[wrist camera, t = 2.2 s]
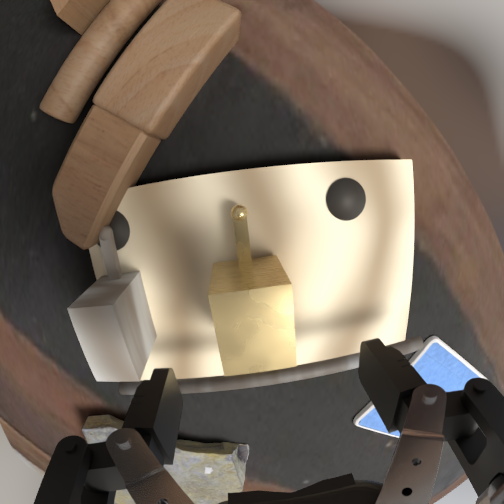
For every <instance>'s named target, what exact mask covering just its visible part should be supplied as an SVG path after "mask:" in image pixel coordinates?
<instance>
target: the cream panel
mask: <svg viewBox="0 0 504 504" xmlns="http://www.w3.org/2000/svg"><path fill="white" fill-rule="evenodd" d="M235 205H243V206H245V207H246V209H247V211H248V215H247V224H248V232H249V240H250V249H251V257H252V258H255V257H263V256H271V255H277V257H278V259H279V261H280V263H281V264H282V266H283V268H284V270H285V272H286V274H287V276H288V278H289V279H290V281H291V283H292V293H293V308H294V324H295V341H296V361H297V366H296V367H290V368H284V369H278V370H271V371H264V372H257V373H249V374H241V375H233V376H224V372H223V367H222V363H221V358H220V353H219V348H218V343H217V339H216V334H215V329H214V324H213V319H212V313H211V308H210V303H209V297H208V292H209V286H210V280H211V273H212V267H213V263H217V262H225V261H233V260H238V254H237V246H236V239H235V231H234V223H233V218H232V217H231V209H232V208H233V207H234V206H235ZM99 240H100V242H99V243H97V244H96V245H94V246H93V247H91V248H89V252H90V256H91V260H92V264H93V268H94V272H95V276H96V279H97V281H96V282H94V283H93V284H92V285H91V286H90V287H89V288H88V289H87V290H86V291H85V292H84V293H83V294H82V295H81V296H80V297H79V298H78V299H77V300H75V301H74V302H73V303H72V304H71V305H70V306H69V307H68V308H67V309H68V312H69V315H70V318H71V321H72V324H73V326H74V329H75V332H76V334H77V337H78V339H79V342H80V344H81V347H82V349H83V352H84V354H85V357H86V359H87V361H88V363H89V366H90V368H91V370H92V372H93V375H94V377H95V379H96V381H111V382H119V391H120V393H121V394H122V395H134V394H135V391H136V389H137V387H138V386H139V385H140V384H141V383H142V382H143V381H144V380H150V378H151V375H152V373H153V370H154V369H155V368H172V369H173V371H174V374H175V377H176V380H177V383H178V386H179V389H180V391H181V394H184V393H200V392H213V391H224V390H234V389H242V388H251V387H258V386H266V385H272V384H279V383H285V382H291V381H297V380H302V379H308V378H313V377H318V376H323V375H328V374H332V373H337V372H341V371H346V370H350V369H354V368H358V367H359V357H360V345H361V342H362V341H367V340H371V339H375V338H379V339H380V340H381V341H382V342H383V344H384V345H385V346H386V347H389V346H392V347H393V348H395V349H397V350H399V351H400V352H401V353H402V354H403V355H405V354H408V353H411V352H414V351H417V350H421V349H422V348H423V340H422V338H421V337H420V336H417V337H414V338H411V339H408V340H405V336H406V329H407V322H408V314H409V306H410V296H411V285H412V272H413V255H414V183H413V165H412V160H357V161H336V162H319V163H305V164H293V165H281V166H271V167H261V168H252V169H244V170H235V171H227V172H220V173H213V174H206V175H199V176H192V177H186V178H180V179H174V180H168V181H162V182H156V183H151V184H146V185H140V186H135V187H130V188H128V189H127V191H126V193H125V195H124V197H123V199H122V201H121V203H120V205H119V207H118V209H117V211H116V212H115V214H114V216H113V218H112V220H111V222H110V225H109V226H107V225H106V226H104V227H103V229H102V230H101V232H100V234H99Z"/></svg>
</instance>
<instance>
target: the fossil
mask: <svg viewBox="0 0 504 504" xmlns="http://www.w3.org/2000/svg"><path fill="white" fill-rule="evenodd" d="M123 423H124V421H123V420H120V419H117V418H115V417H113V416H111V415H98V416H88V418H87V420H86V421H85V424H84V426H83V427H82V431H83V434H84V436H85V438H86V441H87V443H88V444H92V443H99V442H105V441H106V440H107V438H108V436H109V435H110V434H111V433H112V432H114V431H116V430H118V429H121V428H122V426H123ZM248 455H249V446H248V444H242V443H230V442H222V443H200V442H195V441H189V440H177V442H176V449H175V455H174V461H173V465H164V466H163V467H164V468H165V469H166V470H167V471H168V472H169V474H170V475H171V476H172V478H173V479H174V480H175V481H176V483H177V484H178V485H179V486H180V487H181V489H182V490H183V491H184V492H185V493H186V494H187V496H188V497H189V498H190V499H191V500H192V501H193V502H194V504H218V503H220V502H223V501H227V500H228V493H235V492H242V490H243V484H244V479H245V464H246V460H247V459H248ZM114 502H115V503H116V504H136V503H135V502H134V500H133V499H132V497H131V495H130V494H129V492H128V490H127V489H123V490H116V495H115V500H114Z"/></svg>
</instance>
